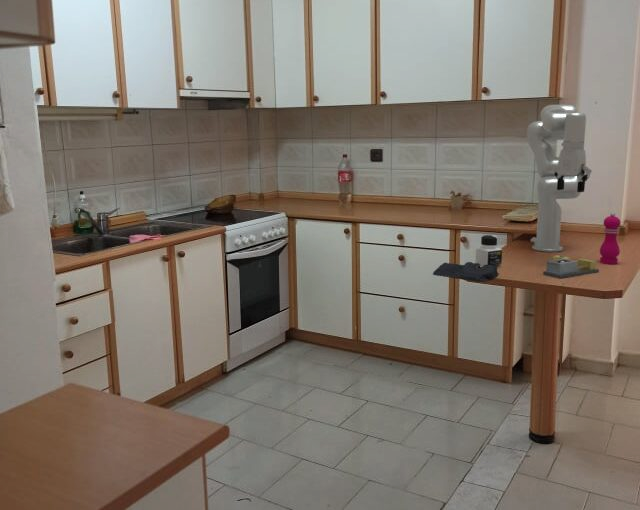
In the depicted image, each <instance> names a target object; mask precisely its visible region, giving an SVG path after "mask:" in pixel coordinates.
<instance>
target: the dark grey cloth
mask: <svg viewBox="0 0 640 510" xmlns="http://www.w3.org/2000/svg"><path fill="white" fill-rule="evenodd" d="M432 275H434V276H437V277H444V278H452V279H456V280H464V281H470V282H471V281H472V282H478V283H485V282H486V283H487V282H489V281H492V280H494V279H496V278H497V277H498V275H499V272H498V267H497V266H495V265H494V266H493V265H484V266H483V267H480V264H479V263H475V262H471V261H467V262H465V263H464V264H458V263H452V262H451V263H449V262H444V263H442V264H441V265H439V266H438V267H437V268H436V269H435V270H434V271H433V272H432Z"/></svg>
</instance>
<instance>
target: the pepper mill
mask: <svg viewBox="0 0 640 510" xmlns="http://www.w3.org/2000/svg"><path fill="white" fill-rule="evenodd" d="M609 215H610V216H607V217H605V218H604V220H603V226H604V227H605V228H604V231H603V232H604V233H605V236H604V239H603V240H604V241H603V242H602V243H601V246H600V247H599V254H600V256H601V257H600V259H599V263H601V264H606V265H616V264H618V263H619V262H618V260H619V259H618V256H619V255H620V252H621V249H620V247H619V244H618V240H617V236H618V233H619V227H620V226H621V220H620V218H619V217H618V216H616V213H615V212H614V211H611V212H610V214H609Z"/></svg>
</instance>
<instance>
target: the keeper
mask: <svg viewBox="0 0 640 510" xmlns="http://www.w3.org/2000/svg"><path fill="white" fill-rule="evenodd" d="M576 261H578V264H577V272H575V273H569V274H563V275H557V274H553V273H549V272H546V270H544V271H543V273H542V274H543V275H545V276H548V277H552V278H556V279H567V278H571V277H572V278H573V277H579V276H583V275H589V274H591V275H592V274H596V273H599V272H600V269H599V268H598V269H597V260H592V259H588V258H584V257H583V258H577V260H576ZM563 262H564V261H560V263H563Z"/></svg>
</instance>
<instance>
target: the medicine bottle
mask: <svg viewBox="0 0 640 510" xmlns="http://www.w3.org/2000/svg"><path fill="white" fill-rule="evenodd" d="M498 239H499V238H498V236H496V235H493V234H492V235H491V234H486V235H483V236H481V242H480V247H476V248H475V260H474V261H475V262H474V263H479V264H480V266H482V267H483V266H484V265H493V266H494V265H495V266H497V268H501V267H502V261H503V260H502V259H503V249H502V248H501V247H498ZM482 267H481V268H482Z"/></svg>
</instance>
